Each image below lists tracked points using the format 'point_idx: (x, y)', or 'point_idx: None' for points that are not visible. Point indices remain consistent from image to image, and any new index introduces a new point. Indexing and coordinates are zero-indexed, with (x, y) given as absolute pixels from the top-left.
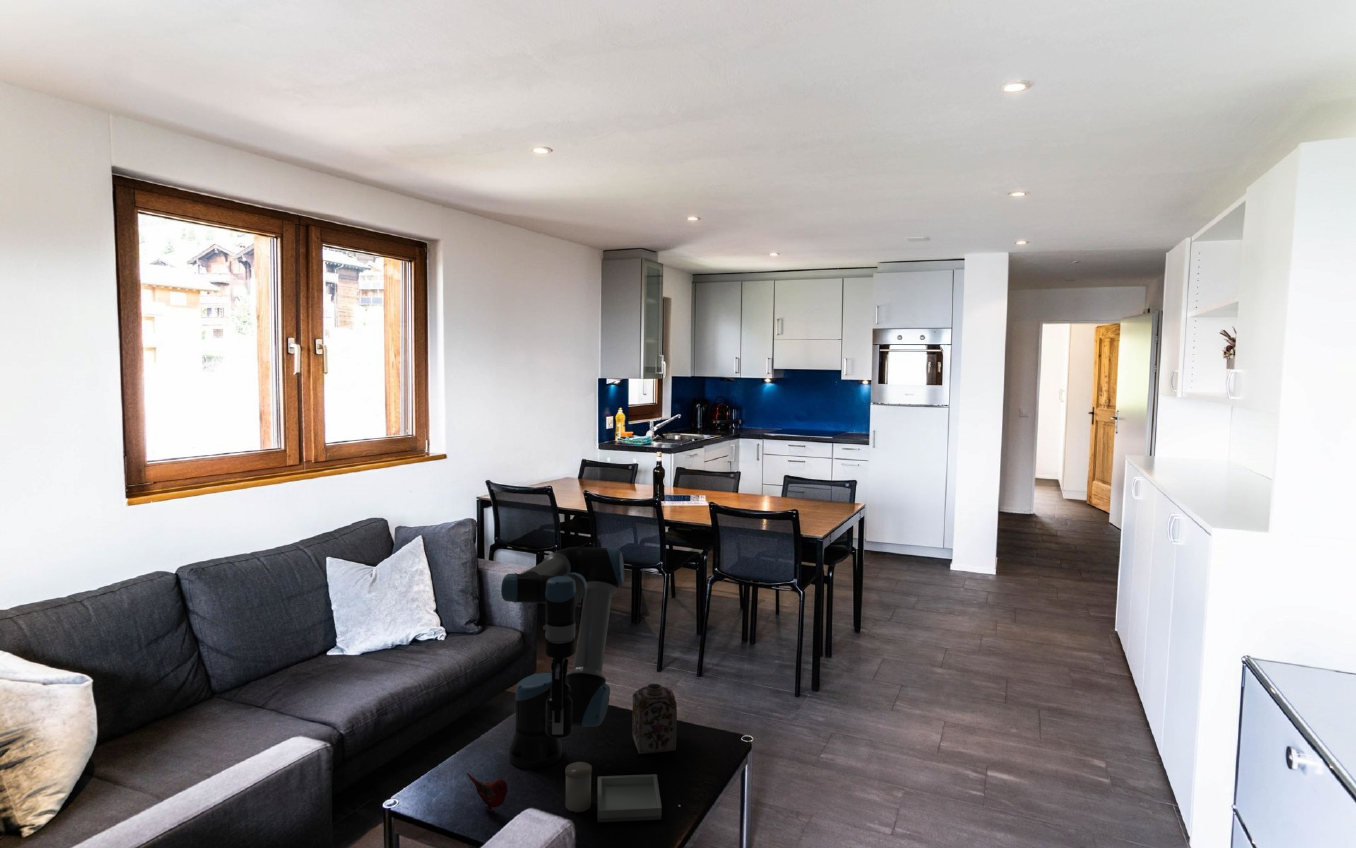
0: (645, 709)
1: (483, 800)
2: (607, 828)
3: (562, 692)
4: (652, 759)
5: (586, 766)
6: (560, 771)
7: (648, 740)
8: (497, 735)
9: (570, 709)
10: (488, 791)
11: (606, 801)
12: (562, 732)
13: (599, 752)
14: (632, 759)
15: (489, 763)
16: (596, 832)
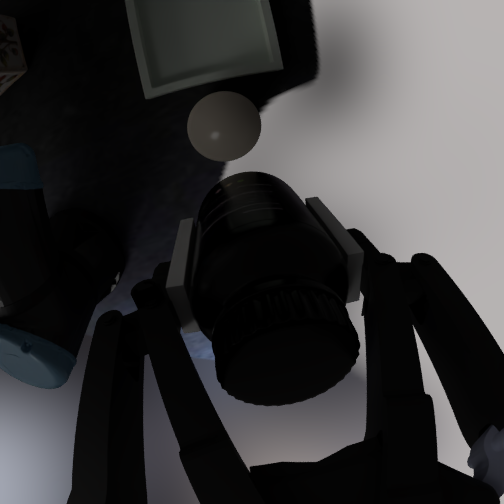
0: None
1: None
2: (294, 51)
3: (412, 325)
4: (40, 39)
5: (208, 108)
6: (110, 192)
7: (9, 55)
8: None
9: (297, 213)
10: None
11: (215, 63)
12: (320, 201)
13: (34, 146)
14: (43, 73)
15: (129, 310)
16: (308, 69)
